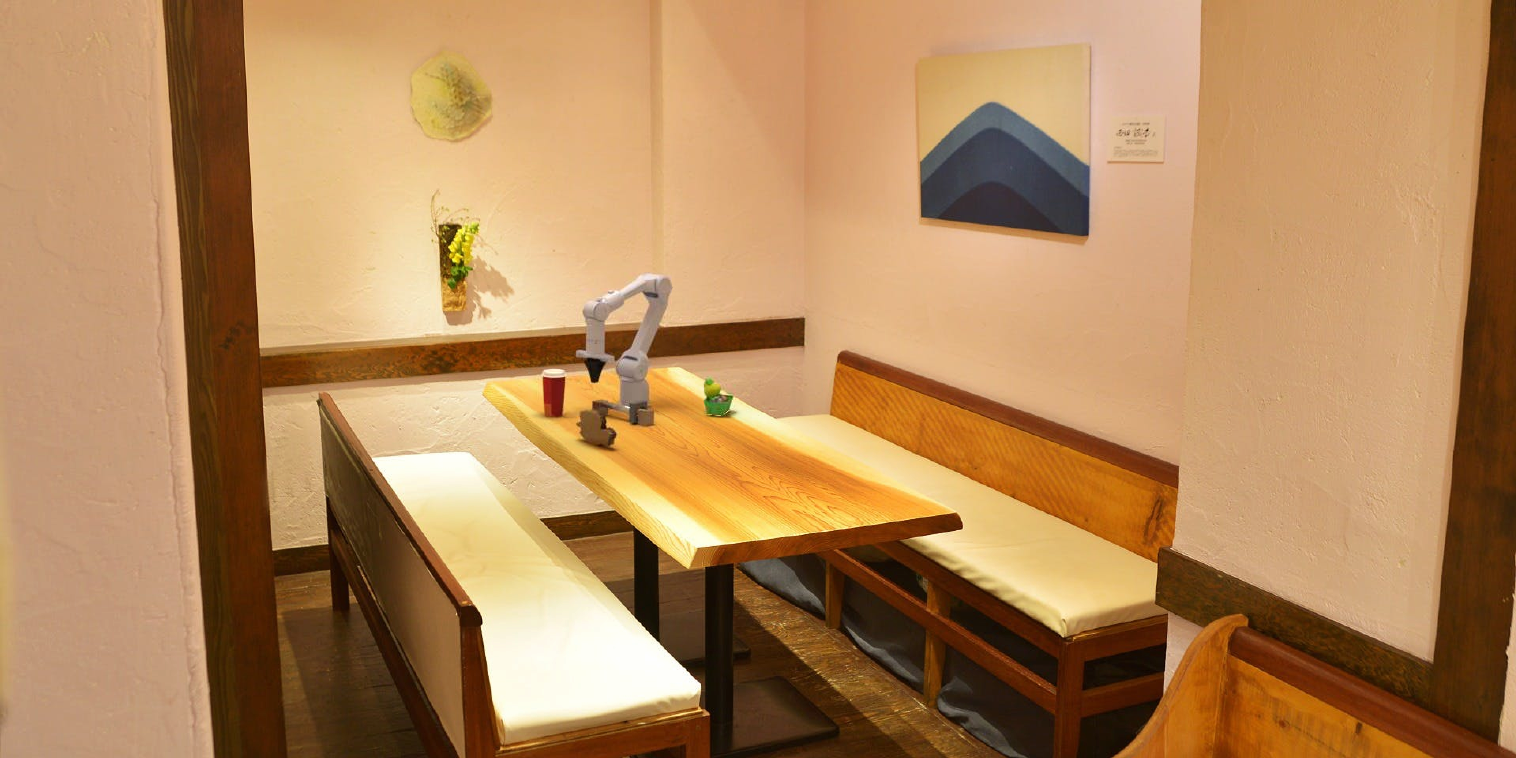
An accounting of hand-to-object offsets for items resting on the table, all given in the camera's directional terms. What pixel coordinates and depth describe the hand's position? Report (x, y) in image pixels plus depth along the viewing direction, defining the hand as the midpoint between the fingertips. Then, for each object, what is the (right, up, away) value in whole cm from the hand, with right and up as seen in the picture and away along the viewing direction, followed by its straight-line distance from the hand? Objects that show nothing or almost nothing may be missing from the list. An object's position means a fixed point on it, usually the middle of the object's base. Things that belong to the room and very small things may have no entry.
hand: (594, 382), depth 405 cm
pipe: (+9, -11, -5) cm, 16 cm away
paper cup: (-13, -10, -3) cm, 16 cm away
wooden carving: (+5, -18, -36) cm, 41 cm away
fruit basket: (+38, -10, +9) cm, 40 cm away
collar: (+14, -12, -9) cm, 21 cm away
